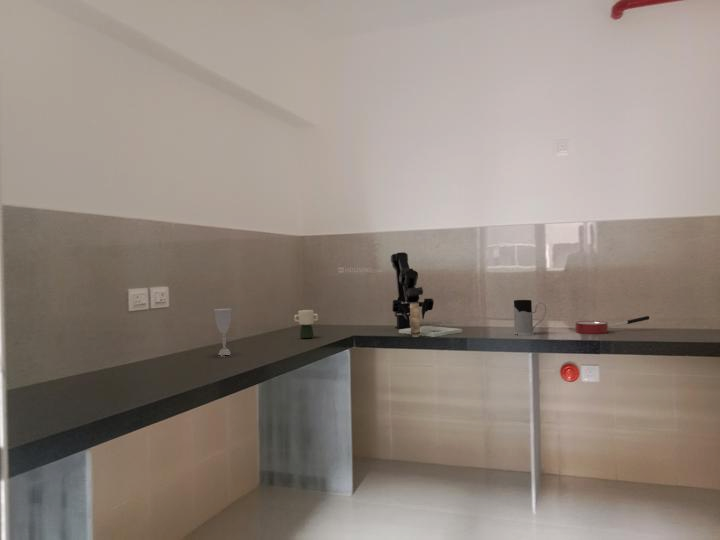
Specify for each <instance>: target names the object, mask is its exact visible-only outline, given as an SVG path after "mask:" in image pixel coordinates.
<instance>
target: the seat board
mask: <svg viewBox="0 0 720 540" xmlns="http://www.w3.org/2000/svg"><path fill="white" fill-rule="evenodd" d="M399 333H400V334H405V333H406V334H408V335H412V334H411V328H405V329H401V328H399V329H398V334H399ZM458 333H459V334H460V333H463V329H462V328H453V327H445V326H434V325H422V326H421V325H420V334H419V336H423V337H424V336H425V337H430V338H431V337H432V338H434V337H441V336H448V335H453V334H458Z"/></svg>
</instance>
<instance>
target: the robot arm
mask: <svg viewBox="0 0 720 540" xmlns="http://www.w3.org/2000/svg"><path fill="white" fill-rule="evenodd" d="M408 261H409V256H408V253H407V252H404V251H403V252H395V253H393V254H392V255H390V263H391V265H392V268H393V269H394V271H395V275H396V276H395V277H396V286H397V298H396V299H393V300H392V303H391V304H392V305H391V309H392V312H393V316H394V317H395V318H396V326H394V329H407V328H411V318H410V304H411V303H419V308H421V318H422V320H424V319H425V314H426V312H429V311H432V310H433V308H434V301H435V300H434V299H433V298H432V297H431V298H423V299H424V300H423V301H420V296H422V295H423V293H424V289H423V287H422V286H419V287H417V282H418V280H419V272H417V271H416V270H414V268H410V265H409V262H408Z"/></svg>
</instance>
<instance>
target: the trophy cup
mask: <svg viewBox="0 0 720 540" xmlns="http://www.w3.org/2000/svg"><path fill="white" fill-rule="evenodd" d="M314 311H315V310H313V309H303V310H302V309H300V310H298V313H297V314H294V317H293V318H294V322H295V323H298V324H299V325H300V332H299V337H300V338H302V339H311V338H313V337H314V330H313V326H312V325H314V322H317V321H319V315H318V313H314ZM297 317H298V319H297ZM310 337H311V338H310Z"/></svg>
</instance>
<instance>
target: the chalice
mask: <svg viewBox="0 0 720 540" xmlns="http://www.w3.org/2000/svg"><path fill="white" fill-rule="evenodd" d="M213 311H214V313H215V315H214V316H215V317H214V318H215V325H216V327H217V329H218V330H219V333H221V334H222V338H221V340H222V342H221V344H222V348H221V349H220V350H219V352H218V355H221V356H220V357H223V356H222V355H230V354H231V351H230V349H229V348H227V347H226V344H227V341H226V339H227V337H226V333H227V332H228V331H229V329H230V326H231V323H232V322H231V321H232V318H231V317H232V314H231V313H232V308H215V309H213ZM231 355H232V354H231ZM231 355H230V356H231Z"/></svg>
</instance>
